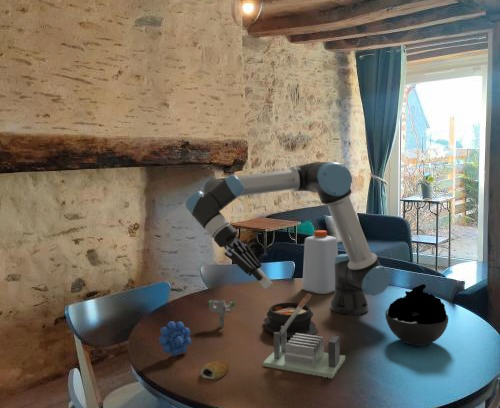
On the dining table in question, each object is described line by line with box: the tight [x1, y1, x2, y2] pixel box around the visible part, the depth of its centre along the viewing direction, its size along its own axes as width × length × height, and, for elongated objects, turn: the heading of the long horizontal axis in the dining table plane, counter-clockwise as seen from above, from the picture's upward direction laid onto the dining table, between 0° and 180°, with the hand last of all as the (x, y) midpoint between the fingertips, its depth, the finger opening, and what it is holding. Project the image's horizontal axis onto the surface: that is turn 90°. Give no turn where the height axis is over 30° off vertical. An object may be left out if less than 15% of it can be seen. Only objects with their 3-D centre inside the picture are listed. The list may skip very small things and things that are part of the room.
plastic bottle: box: [301, 229, 339, 295], centre depth 229 cm, size 15×15×28 cm
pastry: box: [199, 360, 230, 380], centre depth 146 cm, size 9×7×4 cm
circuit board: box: [262, 345, 346, 379], centre depth 151 cm, size 22×14×1 cm, turn 65°
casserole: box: [263, 302, 319, 339], centre depth 179 cm, size 25×19×8 cm
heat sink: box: [273, 326, 341, 369], centre depth 151 cm, size 19×11×8 cm, turn 65°
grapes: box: [158, 320, 192, 357], centre depth 158 cm, size 12×7×12 cm, turn 126°
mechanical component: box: [206, 299, 236, 329], centre depth 184 cm, size 3×10×10 cm, turn 78°
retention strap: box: [279, 293, 312, 338], centre depth 151 cm, size 17×6×1 cm
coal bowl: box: [385, 283, 449, 346], centre depth 163 cm, size 20×20×19 cm
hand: (269, 286), depth 153 cm, fingers closed
